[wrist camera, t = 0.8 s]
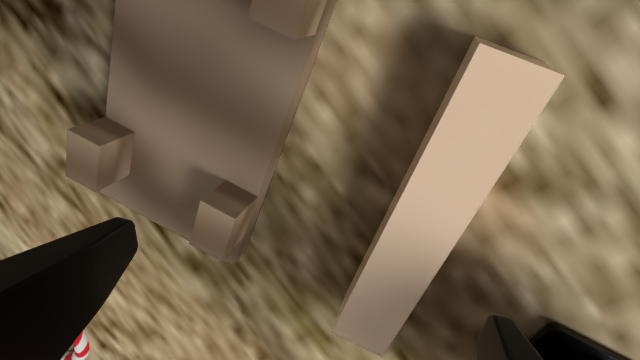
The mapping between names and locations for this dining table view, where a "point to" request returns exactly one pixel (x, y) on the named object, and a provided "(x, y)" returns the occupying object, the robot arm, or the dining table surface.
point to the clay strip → (444, 187)
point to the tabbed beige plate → (199, 112)
